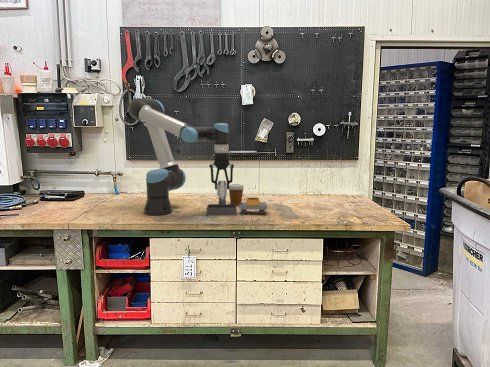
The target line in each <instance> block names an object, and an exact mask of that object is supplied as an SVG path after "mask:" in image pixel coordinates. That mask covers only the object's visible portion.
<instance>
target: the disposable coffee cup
mask: <svg viewBox="0 0 490 367" xmlns="http://www.w3.org/2000/svg"><path fill="white" fill-rule="evenodd" d="M244 189H245V187H244V185H243V184H241V183H239V184H237V183H235V184H229V189H228V193H229V200H230V201H229V202H230V203H229V204H236V206H237V207H239V202H242V201H243V193H244Z"/></svg>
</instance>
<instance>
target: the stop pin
mask: <svg viewBox="0 0 490 367" xmlns="http://www.w3.org/2000/svg"><path fill="white" fill-rule="evenodd" d="M217 183H218V193H219V196H217V197H218V204H219V205H226V204H227V198H226V197H227V196H226V183H227V181H226V180H217Z"/></svg>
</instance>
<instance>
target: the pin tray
mask: <svg viewBox="0 0 490 367" xmlns="http://www.w3.org/2000/svg"><path fill="white" fill-rule="evenodd" d="M237 208H238V206H236V204H231V203H226V205H219V203H217V204H214V203H212V204H207V206H206V216H237V215H238V213H237V210H238V209H237Z"/></svg>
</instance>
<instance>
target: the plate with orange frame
mask: <svg viewBox="0 0 490 367" xmlns="http://www.w3.org/2000/svg"><path fill="white" fill-rule="evenodd" d="M238 207H239V208H238V210H239V211H240V213H241V215H243V214H244V215H243V216H245V215H247V213H248V210H253V211H254V210H256V211H257V210H258V212H259V214H260V215H261V216H264V215H265V214H266V210H268V204H267V202H264V201H263V202H261V201H260V197H246V200H245V202H239V206H238Z"/></svg>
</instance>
